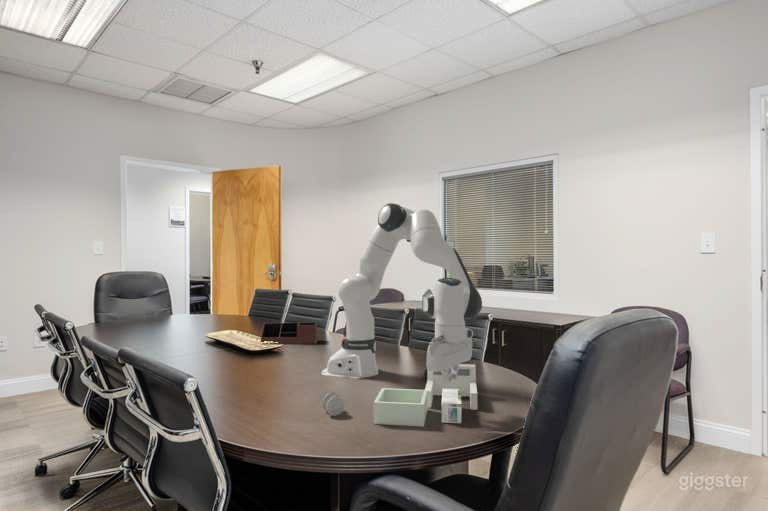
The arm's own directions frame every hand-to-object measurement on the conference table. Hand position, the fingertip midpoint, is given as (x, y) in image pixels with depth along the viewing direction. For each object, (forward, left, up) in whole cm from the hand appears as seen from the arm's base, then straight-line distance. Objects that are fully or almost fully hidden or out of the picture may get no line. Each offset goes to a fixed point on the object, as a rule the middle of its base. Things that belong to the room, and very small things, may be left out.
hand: (450, 380), depth 136 cm
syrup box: (0, +8, -7) cm, 11 cm away
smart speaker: (-6, +37, -10) cm, 39 cm away
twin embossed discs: (-34, -3, -10) cm, 36 cm away
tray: (-14, -3, -10) cm, 18 cm away
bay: (0, +13, -10) cm, 17 cm away
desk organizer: (-86, +96, -11) cm, 130 cm away
